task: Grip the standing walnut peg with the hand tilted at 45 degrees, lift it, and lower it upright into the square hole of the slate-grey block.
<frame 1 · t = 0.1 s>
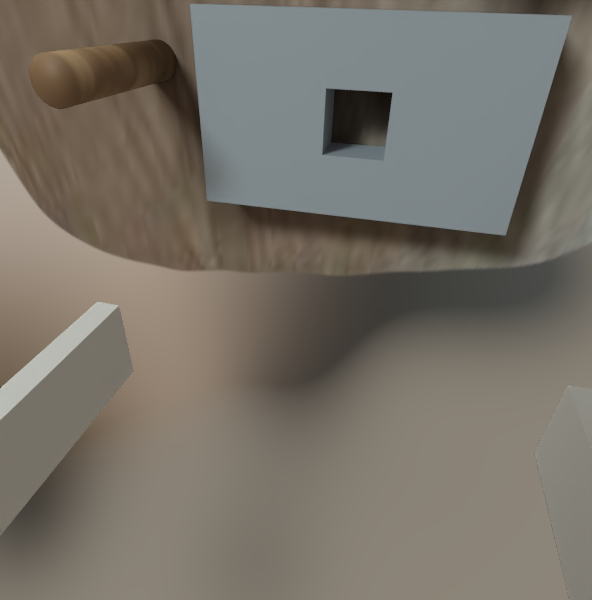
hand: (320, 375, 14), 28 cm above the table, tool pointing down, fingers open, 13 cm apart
hole block: (362, 114, 36), on the table
peg: (159, 60, 37), on the table
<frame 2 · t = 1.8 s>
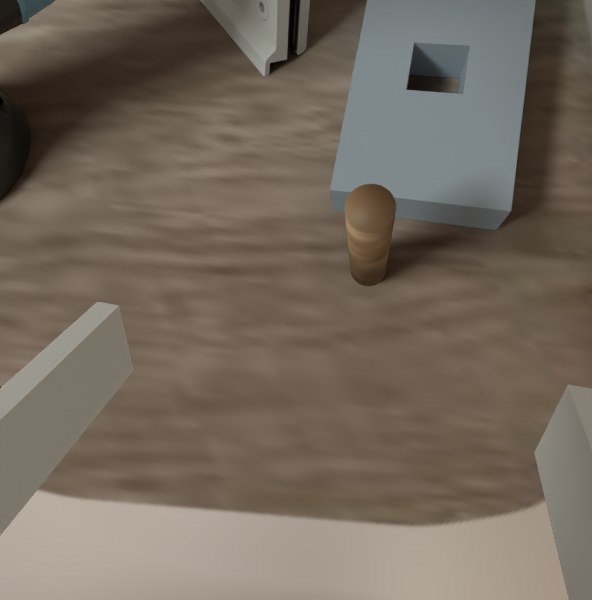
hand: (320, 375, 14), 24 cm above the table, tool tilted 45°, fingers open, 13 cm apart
hole block: (431, 98, 42), on the table
peg: (368, 269, 39), on the table
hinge: (253, 8, 47), on the table
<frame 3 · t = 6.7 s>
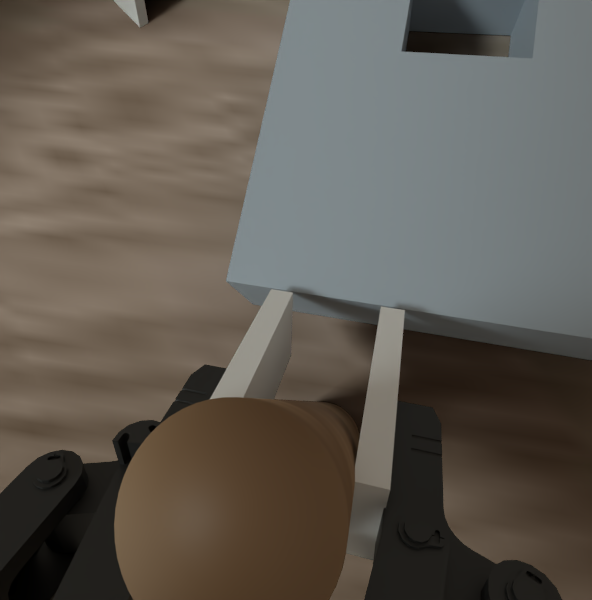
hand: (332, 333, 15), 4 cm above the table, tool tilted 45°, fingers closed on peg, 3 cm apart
hole block: (452, 75, 21), on the table
peg: (322, 440, 18), on the table, touching gripper
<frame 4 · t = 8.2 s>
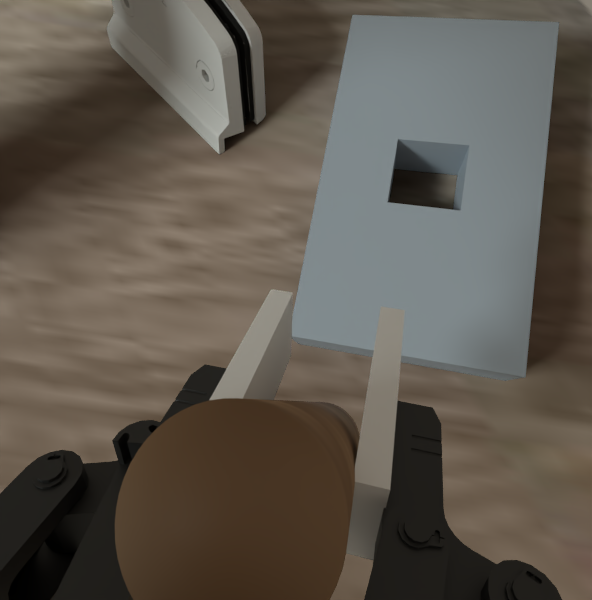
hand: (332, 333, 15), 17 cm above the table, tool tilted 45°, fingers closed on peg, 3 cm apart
hole block: (421, 200, 33), on the table
peg: (322, 440, 18), point 13 cm above the table, touching gripper
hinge: (197, 71, 39), on the table
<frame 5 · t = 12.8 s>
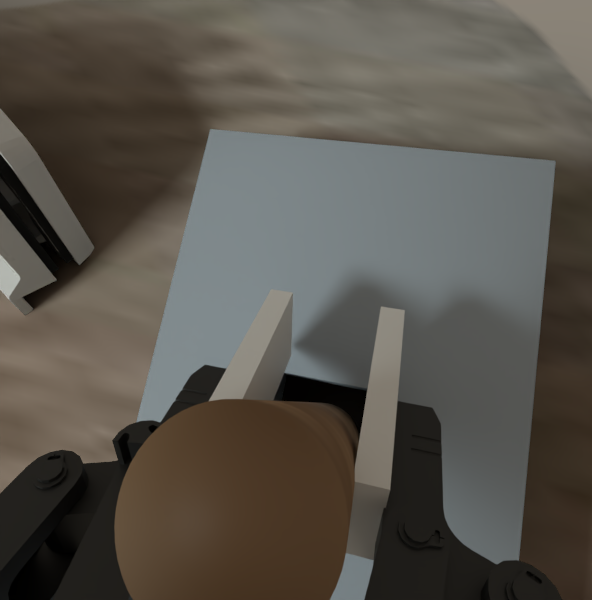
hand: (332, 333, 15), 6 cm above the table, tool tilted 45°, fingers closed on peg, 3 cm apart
hole block: (326, 436, 20), on the table
peg: (322, 441, 18), point 2 cm above the table, touching gripper
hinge: (0, 178, 26), on the table
when the fingers open (6 cm above the table, at t = 13.1 s): peg drops 2 cm, resting in hole block.
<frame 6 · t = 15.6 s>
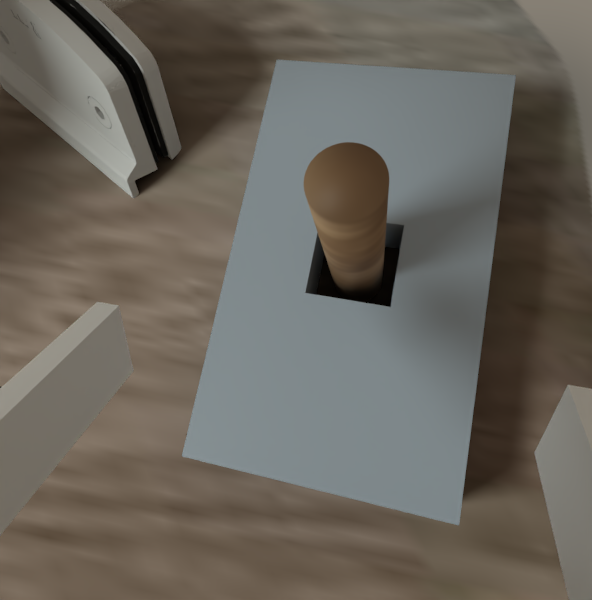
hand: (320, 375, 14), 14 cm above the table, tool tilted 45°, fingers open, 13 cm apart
hole block: (356, 278, 28), on the table
peg: (358, 279, 28), resting in hole block
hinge: (101, 105, 35), on the table
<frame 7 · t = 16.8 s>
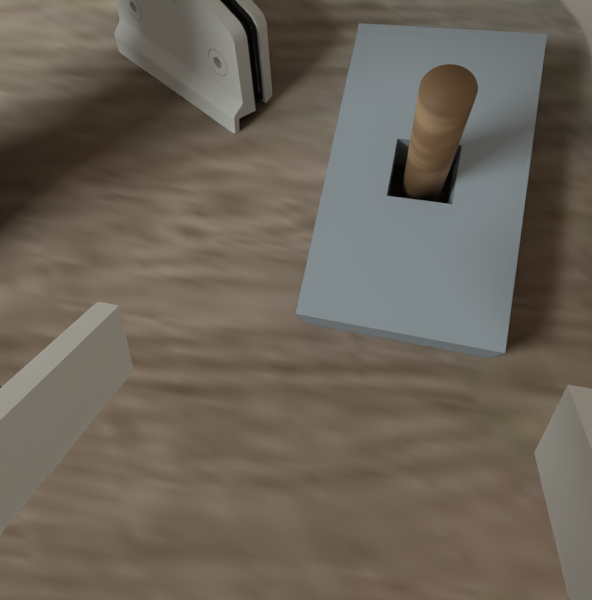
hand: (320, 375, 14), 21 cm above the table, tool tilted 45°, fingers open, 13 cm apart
hole block: (418, 194, 37), on the table
peg: (419, 195, 36), resting in hole block
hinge: (202, 64, 43), on the table
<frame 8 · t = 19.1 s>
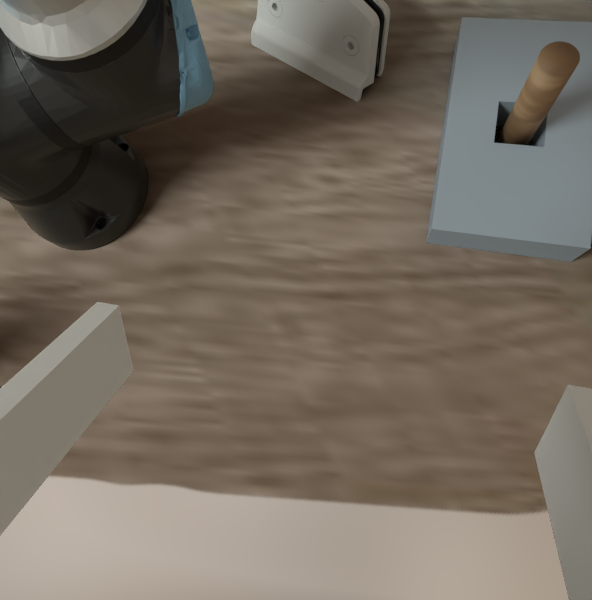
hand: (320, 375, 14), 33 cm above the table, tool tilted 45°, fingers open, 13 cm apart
hole block: (508, 145, 48), on the table
peg: (509, 146, 48), resting in hole block
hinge: (321, 50, 55), on the table
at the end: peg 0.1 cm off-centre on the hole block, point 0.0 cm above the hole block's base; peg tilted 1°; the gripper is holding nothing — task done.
